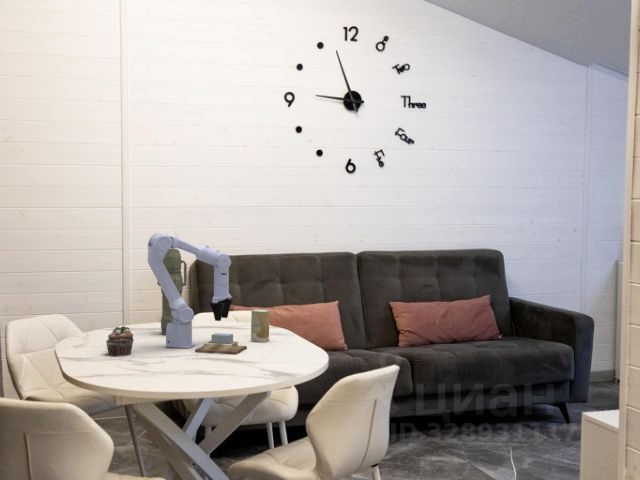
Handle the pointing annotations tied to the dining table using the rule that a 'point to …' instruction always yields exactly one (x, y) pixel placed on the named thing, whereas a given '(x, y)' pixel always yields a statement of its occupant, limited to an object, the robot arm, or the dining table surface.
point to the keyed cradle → (221, 348)
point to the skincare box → (260, 325)
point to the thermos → (174, 270)
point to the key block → (222, 338)
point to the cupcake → (120, 342)
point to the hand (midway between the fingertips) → (221, 319)
